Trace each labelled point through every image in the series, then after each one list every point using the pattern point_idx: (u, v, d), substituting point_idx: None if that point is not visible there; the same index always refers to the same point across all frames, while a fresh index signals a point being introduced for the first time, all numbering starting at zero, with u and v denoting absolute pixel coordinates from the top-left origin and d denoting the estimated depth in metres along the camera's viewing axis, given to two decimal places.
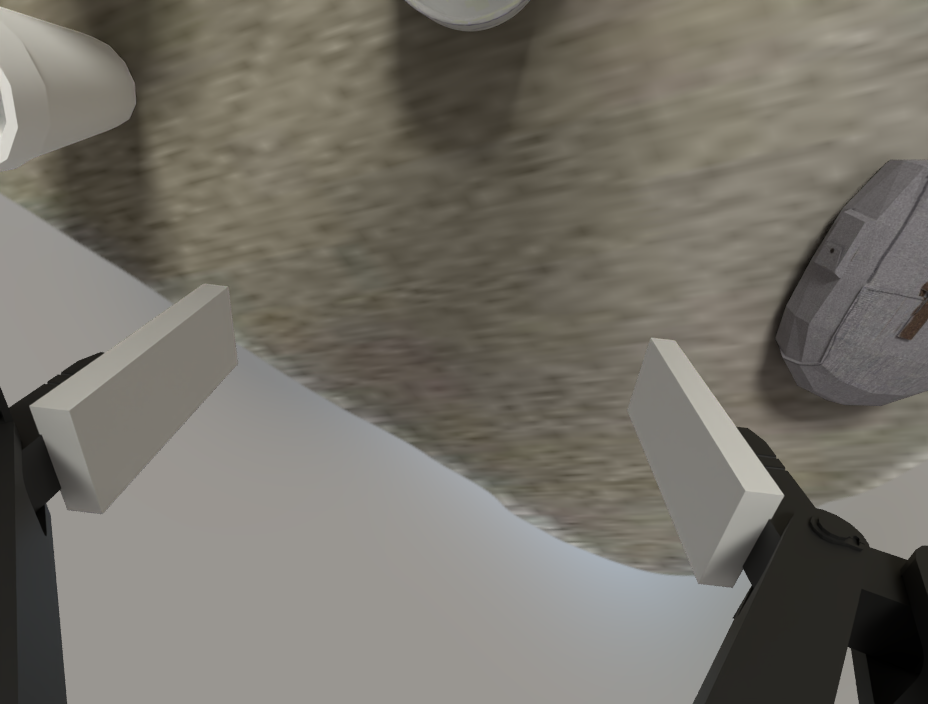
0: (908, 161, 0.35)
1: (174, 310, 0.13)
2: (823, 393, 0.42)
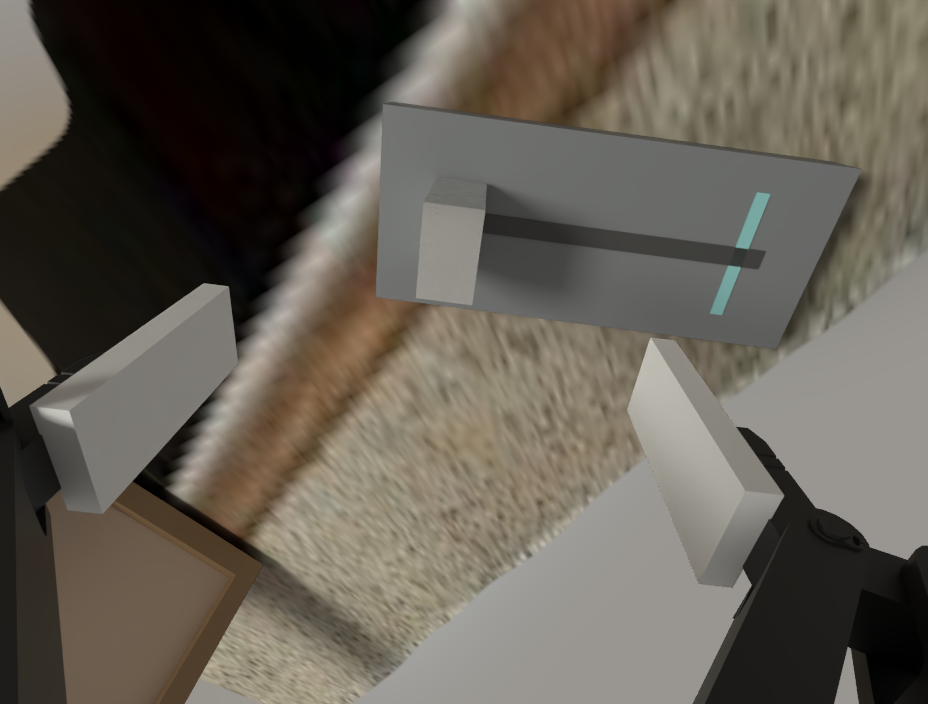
0: None
1: (174, 310, 0.13)
2: None
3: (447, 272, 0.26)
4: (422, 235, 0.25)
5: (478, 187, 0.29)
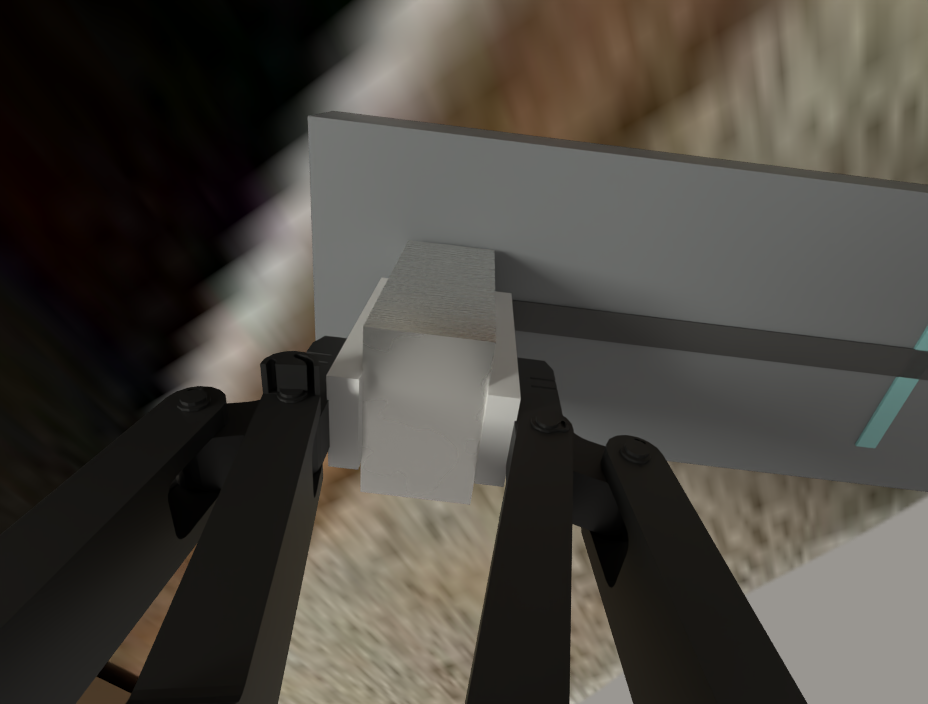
0: None
1: (375, 300, 0.15)
2: None
3: (419, 450, 0.13)
4: (365, 387, 0.12)
5: (480, 263, 0.16)
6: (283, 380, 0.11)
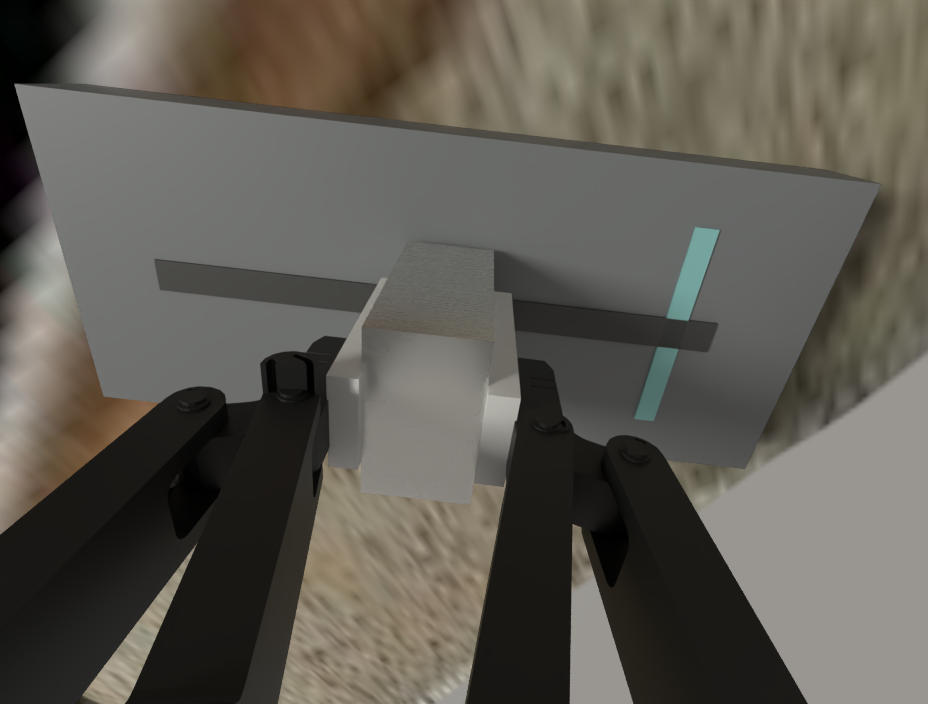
0: None
1: (375, 300, 0.15)
2: None
3: (419, 450, 0.13)
4: (364, 388, 0.12)
5: (479, 263, 0.16)
6: (282, 379, 0.11)
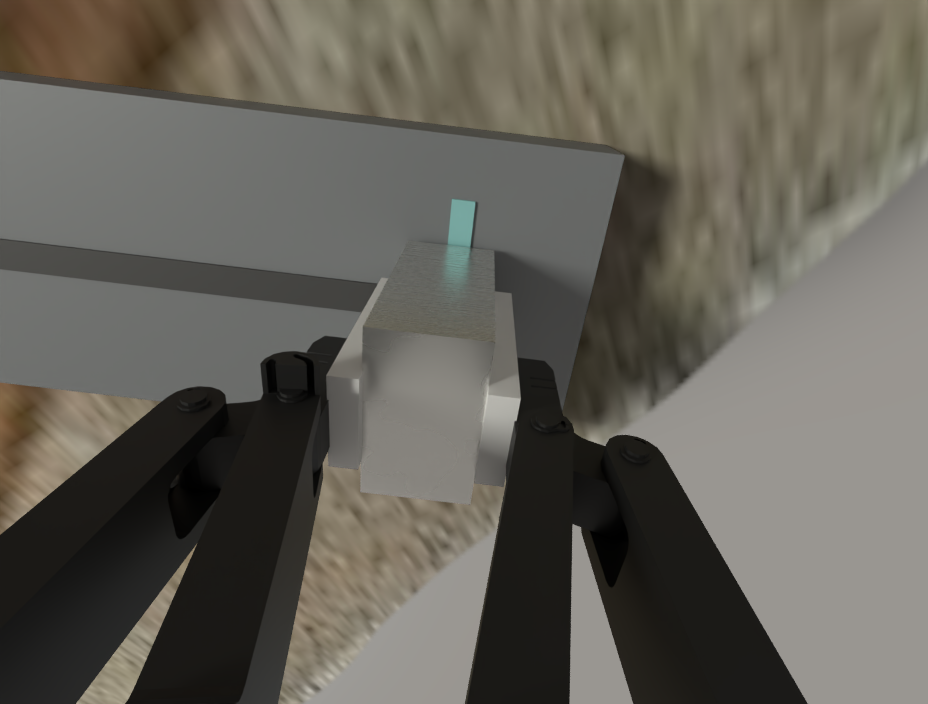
0: None
1: (375, 300, 0.15)
2: None
3: (419, 450, 0.13)
4: (365, 388, 0.12)
5: (479, 264, 0.16)
6: (283, 380, 0.11)
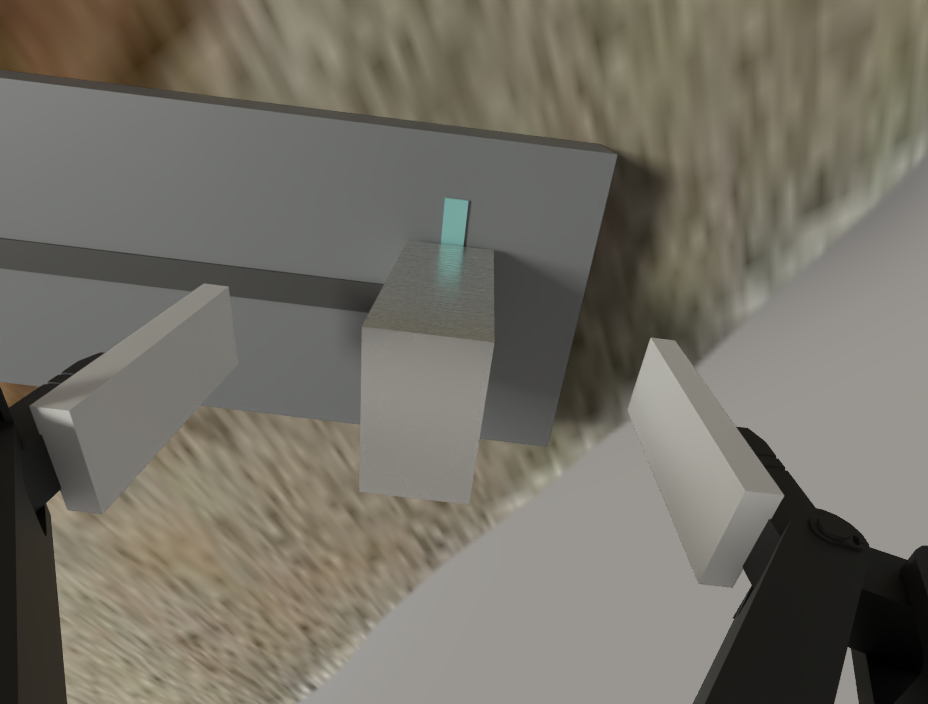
0: None
1: (174, 310, 0.13)
2: None
3: (418, 450, 0.13)
4: (364, 387, 0.12)
5: (479, 263, 0.16)
6: None
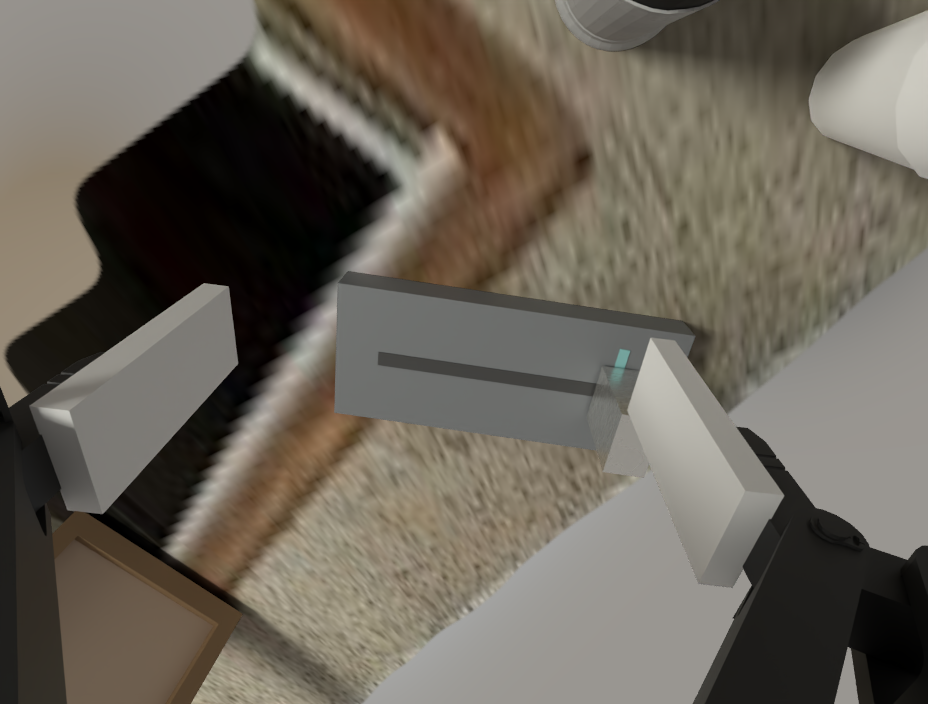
0: None
1: (174, 310, 0.13)
2: None
3: (629, 456, 0.35)
4: (616, 434, 0.35)
5: None
6: None
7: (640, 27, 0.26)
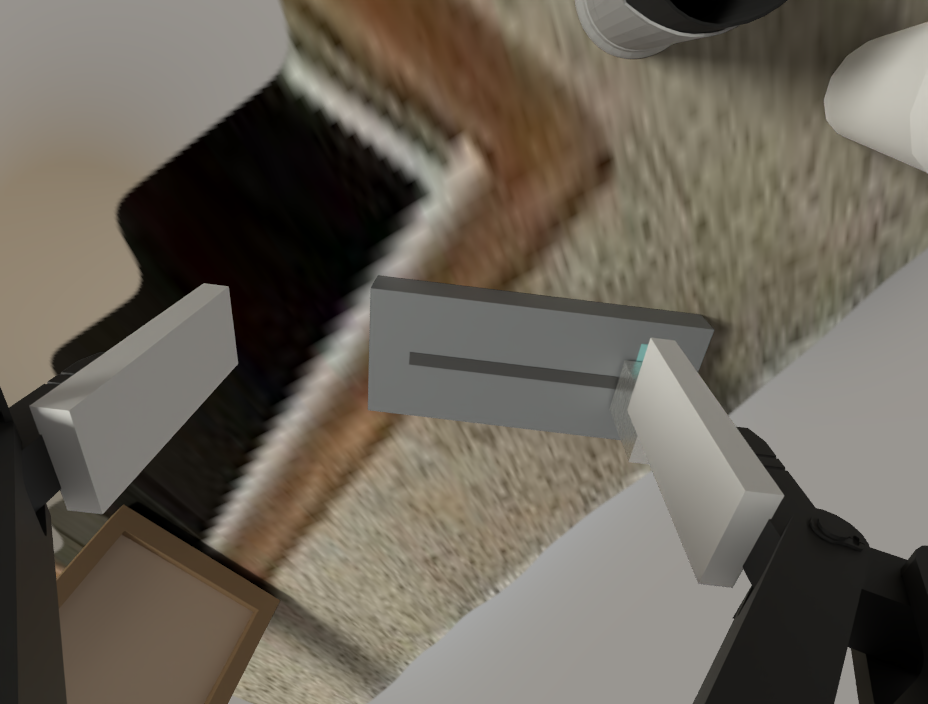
0: None
1: (174, 310, 0.13)
2: None
3: None
4: None
5: None
6: None
7: (664, 43, 0.28)
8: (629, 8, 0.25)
